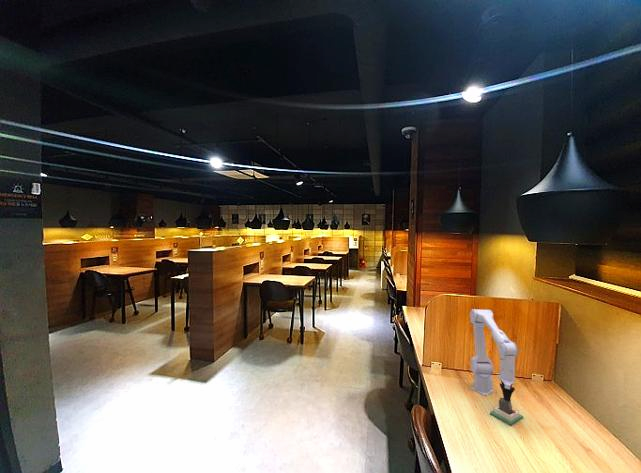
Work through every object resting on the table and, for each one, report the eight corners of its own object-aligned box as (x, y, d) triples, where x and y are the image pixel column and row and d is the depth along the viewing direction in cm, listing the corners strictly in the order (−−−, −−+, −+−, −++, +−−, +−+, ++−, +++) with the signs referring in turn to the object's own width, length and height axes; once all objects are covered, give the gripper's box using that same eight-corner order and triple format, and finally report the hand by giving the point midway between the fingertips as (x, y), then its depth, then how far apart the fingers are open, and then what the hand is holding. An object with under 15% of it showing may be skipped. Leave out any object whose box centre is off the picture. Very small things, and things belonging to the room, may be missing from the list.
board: (502, 407, 135) (502, 405, 135) (523, 418, 127) (523, 416, 127) (489, 414, 130) (489, 412, 130) (510, 426, 122) (510, 423, 122)
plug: (503, 410, 131) (500, 397, 132) (516, 414, 127) (514, 400, 128) (500, 414, 128) (498, 400, 129) (514, 417, 124) (512, 403, 125)
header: (502, 407, 133) (502, 403, 133) (518, 416, 127) (519, 411, 127) (494, 412, 130) (494, 407, 130) (510, 421, 124) (510, 416, 124)
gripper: (497, 360, 137) (496, 387, 137) (497, 372, 125) (496, 402, 125) (514, 364, 133) (514, 392, 133) (516, 376, 121) (515, 407, 121)
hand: (506, 397), depth 128 cm, fingers open, 5 cm apart
